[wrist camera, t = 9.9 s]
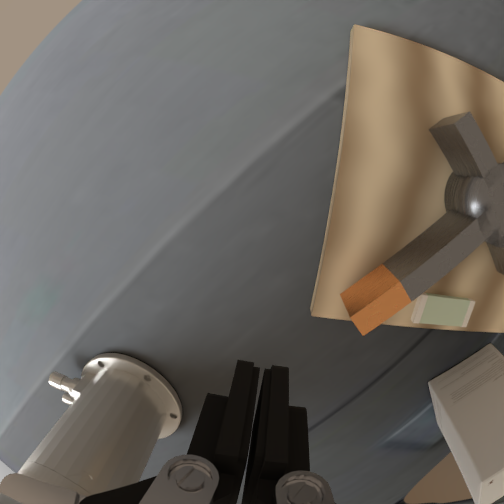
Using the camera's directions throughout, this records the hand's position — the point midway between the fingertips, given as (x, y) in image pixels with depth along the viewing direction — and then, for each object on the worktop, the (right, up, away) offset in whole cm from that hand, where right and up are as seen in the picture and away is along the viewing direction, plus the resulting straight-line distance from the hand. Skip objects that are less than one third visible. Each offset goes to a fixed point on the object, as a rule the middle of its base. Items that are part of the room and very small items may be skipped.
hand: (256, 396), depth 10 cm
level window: (+17, 0, +14) cm, 22 cm away
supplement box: (+25, -11, +18) cm, 32 cm away
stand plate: (+18, +10, +13) cm, 24 cm away
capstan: (+15, +7, +12) cm, 21 cm away
